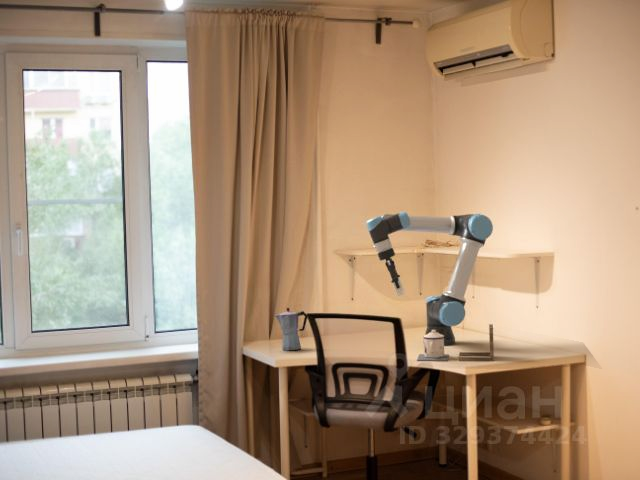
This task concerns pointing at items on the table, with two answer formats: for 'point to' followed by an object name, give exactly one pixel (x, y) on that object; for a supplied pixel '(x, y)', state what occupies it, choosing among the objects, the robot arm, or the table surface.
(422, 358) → the slate mat
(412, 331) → the table surface
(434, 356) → the teacup with lid
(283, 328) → the moka pot
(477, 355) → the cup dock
